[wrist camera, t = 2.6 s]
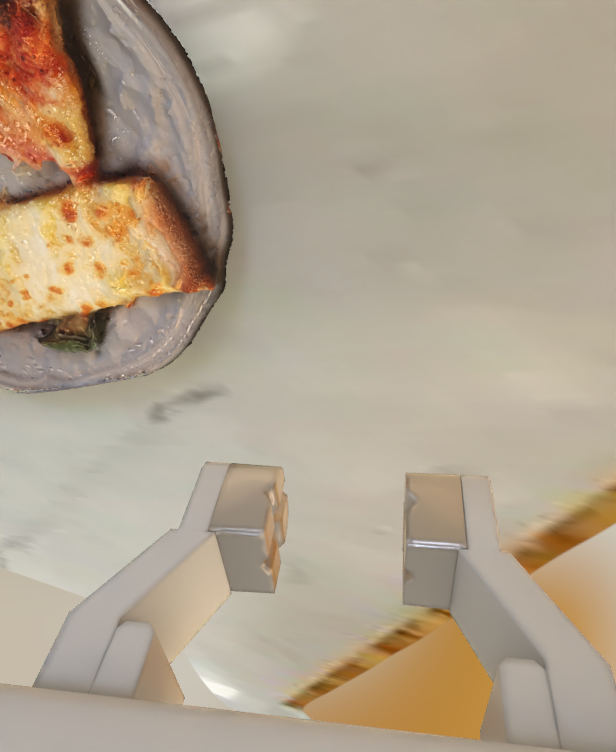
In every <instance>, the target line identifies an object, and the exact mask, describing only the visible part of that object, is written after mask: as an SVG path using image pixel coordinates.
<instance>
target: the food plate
mask: <svg viewBox="0 0 616 752" xmlns="http://www.w3.org/2000/svg"><path fill="white" fill-rule="evenodd" d="M187 55H188V53H186V52H185V49H184V48H183V47H182V45H181V43H180V42H179V41H178V39H177V37H176V36H174V34H173V33H171V29H170V28H169V27H168V25H167V24H166V23H165V22H164V20H163V18H162V17H161V16H160V15H159V14H158V13H157V12H156V10H155V9H153V8H152V6H151V5H150V4H148V2H147V1H146V0H0V388H4V389H7V390H13V391H14V390H17V391H19V390H25V389H26V390H27V389H28V390H40V391H29V392H27V391H26V392H24V393H28V394H29V393H42V392H50V391H58V390H66V389H71V388H80V387H83V386H92V385H97V384H103V383H109V382H115V381H120V380H121V379H122V380H125V379H126V378H125V377H129V376H130V378H135V377H136V376H137V374H140V373H145V374H144V375H143V376H146V375H149V374H151V373H153V372H154V371H157V370H159V369H161V368H164V366H167V365H169V364H170V363H171V362H173V361H174V360H175V359H176V358H177V357H178V356H179V355H180V354H181V353H182V352H183V351H184V350H185V349H186V348H187V347H188V346H189V345H190V344H191V343H192V342H191V341H192V340H193V338H194V337H195V336H196V333H197V331H199V329H200V326H201V325H202V323H203V322H204V319H206V316H207V315H208V313H209V311H210V310H211V308H212V307H214V303H215V302H217V299H218V298H219V297H220V295H221V294H222V292H223V291H224V289H225V288H224V287H225V284H226V281H225V278H226V267H225V266H226V264H227V263H226V260H227V258H228V254H229V250H230V249H229V248H230V246H231V245H232V244H231V243H232V241H233V239H232V234H233V231H232V230H233V222H232V221H233V219H232V213H231V210H230V209H229V205H230V204H229V203H228V201H229V200H230V195H229V189H228V183H227V178H226V177H225V173H224V171H225V168H224V164H223V161H222V153H221V146H220V143H219V139H218V135H217V132H216V127H215V123H214V120H213V117H212V110H211V107H210V104H209V100H208V98H207V95H206V94H205V90H204V87H203V85H202V84H201V83H200V80H199V77H198V76H196V71H195V69H194V67H193V66H192V62H191V59H189V58H188V57H187ZM140 377H141V376H140ZM130 378H127V379H130ZM108 379H109V381H107V380H108ZM111 379H117V380H111ZM58 387H59V388H58ZM60 387H61V388H60ZM51 388H57V389H51ZM41 389H43V390H42V391H41ZM44 389H45V390H44ZM46 389H51V390H46ZM17 393H18V392H17ZM20 393H23V392H20Z"/></svg>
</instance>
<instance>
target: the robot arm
mask: <svg viewBox="0 0 616 752" xmlns="http://www.w3.org/2000/svg"><path fill="white" fill-rule="evenodd" d="M284 482H285V477H284V472H283V468H282V467H275V466H262V465H249V464H236V463H218V462H206V463H205V465H204V466H203V467H202V468H201V471H200V474H199V476H198V479H197V482H196V484H195V487H194V489H193V492H192V495H191V497H190V500H189V503H188V505H187V508H186V511H185V513H184V516H183V518H182V521H181V524H180V526H179V529H170V530H169V531H168V532H167V533H165V534H164V535H163V536H162V537H161V538H159V539H158V540H157V541H156V542H155V543H153V544H152V545H151V546H150V547H148V548H147V549H146V550H145V551H144V552H142V553H141V554H140V555H139V556H137V557H136V558H135V559H134V560H133V561H131V562H130V563H129V564H128V565H126V566H125V567H124V568H123V569H122V570H120V571H119V572H118V573H117V574H115V575H114V576H113V577H112V578H111V579H109V580H108V581H107V582H106V583H105V584H103V585H102V586H101V587H100V588H98V589H97V590H96V591H95V592H94V593H92V594H91V595H90V596H89V597H87V598H86V599H85V600H84V601H83V602H81V603H80V604H79V605H78V606H76V607H75V608H74V609H73V610H72V611H70V612H69V613H68V615H67V617H66V619H65V621H64V624H63V626H62V628H61V630H60V632H59V634H58V636H57V638H56V640H55V642H54V644H53V646H52V648H51V650H50V652H49V654H48V656H47V658H46V660H45V662H44V664H43V666H42V668H41V670H40V672H39V674H38V676H37V678H36V680H35V682H34V684H33V686H32V687H27V686H18V685H10V684H1V683H0V752H616V685H615V681H614V678H613V674H612V670H611V666H610V665H609V664H608V663H607V661H606V660H605V659H604V658H603V657H602V656H601V655H600V654H599V652H598V651H597V650H596V649H595V648H594V647H593V646H592V645H591V644H590V642H589V641H588V640H587V639H586V638H585V637H584V636H583V635H582V634H581V632H580V631H579V630H578V629H577V628H576V627H575V626H574V624H573V623H572V622H571V621H570V620H569V619H568V618H567V616H566V615H565V614H564V613H563V612H562V611H561V610H560V608H559V607H558V606H557V605H556V604H555V603H554V602H553V601H552V599H551V598H550V597H549V596H548V595H547V594H546V593H545V592H544V590H543V589H542V588H541V587H540V586H539V585H538V584H537V583H536V581H535V580H534V579H533V578H532V577H531V576H530V575H529V574H528V572H527V571H526V570H525V569H524V568H523V567H522V566H521V565H520V563H519V562H518V561H517V560H516V559H515V558H514V557H513V556H512V554H511V553H507V552H501V546H500V539H499V533H498V527H497V520H496V514H495V507H494V501H493V494H492V488H491V481H490V479H489V478H488V476H467V475H460V476H459V475H450V474H425V473H406V474H405V500H404V516H403V604H404V605H413V606H421V607H430V608H439V609H448V610H450V614H451V615H452V617H453V618H454V620H455V622H456V623H457V625H458V626H459V628H460V630H461V631H462V633H463V635H464V636H465V638H466V639H467V641H468V643H469V644H470V646H471V648H472V649H473V651H474V652H475V654H476V656H477V657H478V659H479V660H480V662H481V664H482V665H483V667H484V668H485V670H486V672H487V673H488V675H489V677H490V678H491V680H492V681H493V683H494V684H493V688H492V691H491V694H490V698H489V702H488V705H487V708H486V712H485V716H484V719H483V722H482V726H481V729H480V738H481V740H476V739H468V738H459V737H450V736H443V735H433V734H425V733H417V732H409V731H400V730H392V729H383V728H375V727H366V726H358V725H350V724H341V723H332V722H324V721H316V720H307V719H299V718H290V717H282V716H273V715H265V714H257V713H248V712H240V711H230V710H223V709H214V708H206V707H197V706H189V705H183V701H184V698H185V697H184V695H183V693H182V691H181V689H180V686H179V684H178V682H177V680H176V677H175V675H174V673H173V670H172V668H171V666H170V664H171V663H172V662H173V660H174V659H175V658H176V657H177V656H178V655H179V653H180V652H181V651H182V650H183V649H184V648H185V647H186V645H187V644H188V643H189V642H190V641H191V640H192V638H193V637H194V636H195V635H196V634H197V633H198V632H199V630H200V629H201V628H202V627H203V626H204V625H205V623H206V622H207V621H208V620H209V619H210V618H211V617H212V615H213V614H214V613H215V612H216V611H217V610H218V608H219V607H220V606H221V605H222V604H223V603H224V601H225V600H226V599H227V598H228V597H229V596H230V595H231V591H241V592H259V593H275V589H276V584H277V579H278V574H279V569H280V564H281V560H280V554H279V547H281V546H282V545H283V544H284V543H285V538H286V533H287V525H288V499H287V495H286V494H285V493H284V492H283V487H284Z"/></svg>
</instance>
